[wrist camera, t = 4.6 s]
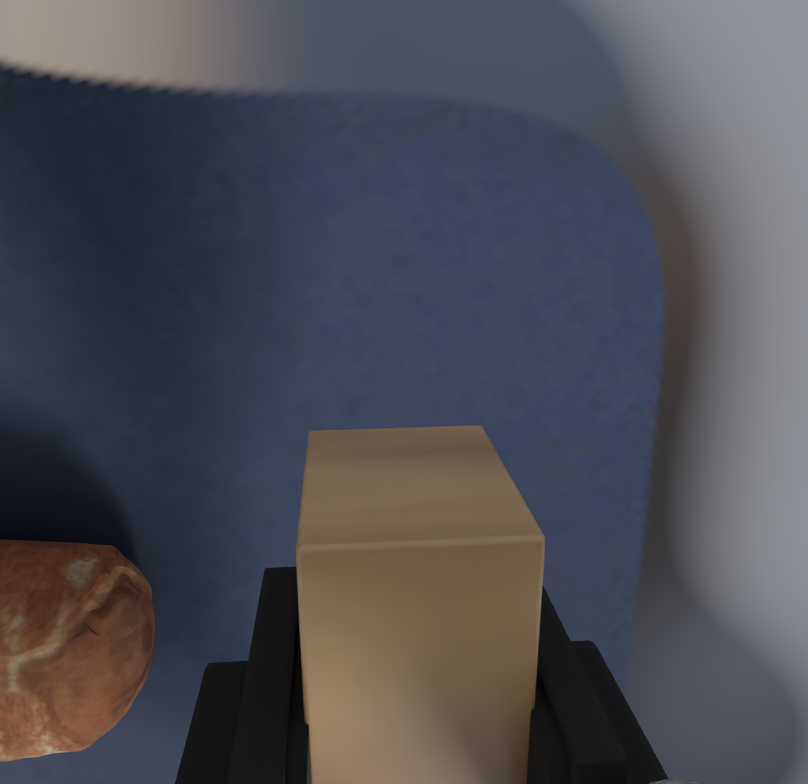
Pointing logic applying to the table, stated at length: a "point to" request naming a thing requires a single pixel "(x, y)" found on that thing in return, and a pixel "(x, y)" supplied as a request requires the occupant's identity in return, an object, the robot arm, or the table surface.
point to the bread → (69, 644)
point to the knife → (416, 608)
